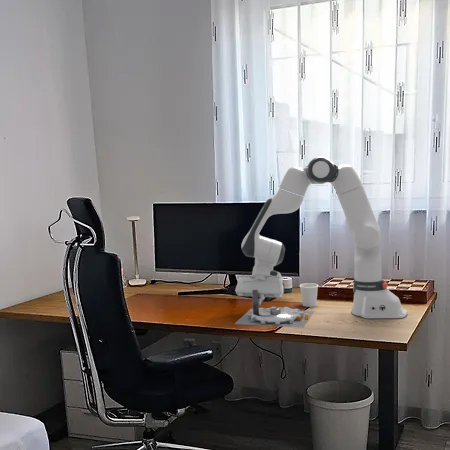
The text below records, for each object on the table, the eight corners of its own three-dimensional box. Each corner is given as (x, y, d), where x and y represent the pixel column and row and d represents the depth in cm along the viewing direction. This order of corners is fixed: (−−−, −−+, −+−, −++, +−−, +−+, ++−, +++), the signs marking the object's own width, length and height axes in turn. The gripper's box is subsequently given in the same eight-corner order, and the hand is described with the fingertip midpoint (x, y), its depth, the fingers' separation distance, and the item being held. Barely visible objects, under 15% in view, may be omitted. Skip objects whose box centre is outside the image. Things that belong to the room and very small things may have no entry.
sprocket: (300, 309, 251) (299, 282, 250) (306, 323, 228) (305, 294, 227) (247, 311, 252) (246, 284, 250) (248, 325, 229) (247, 296, 228)
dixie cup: (317, 304, 263) (316, 282, 262) (320, 309, 255) (319, 286, 254) (298, 305, 263) (298, 283, 262) (301, 309, 255) (300, 287, 254)
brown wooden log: (268, 303, 270) (268, 291, 269) (259, 302, 272) (258, 290, 272) (290, 293, 289) (290, 282, 288) (281, 292, 291) (281, 281, 291)
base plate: (314, 313, 248) (314, 306, 247) (303, 329, 224) (303, 322, 224) (251, 310, 256) (250, 304, 256) (234, 326, 233) (233, 319, 232)
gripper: (237, 271, 250) (230, 299, 242) (283, 273, 244) (278, 301, 236) (240, 279, 255) (234, 307, 247) (286, 281, 249) (281, 309, 241)
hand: (256, 304), depth 241 cm, fingers closed, pressing on sprocket
